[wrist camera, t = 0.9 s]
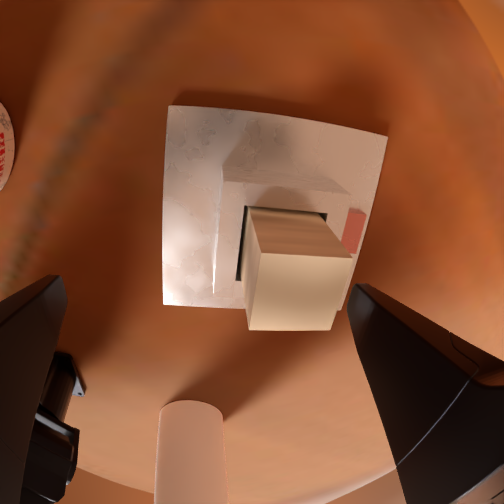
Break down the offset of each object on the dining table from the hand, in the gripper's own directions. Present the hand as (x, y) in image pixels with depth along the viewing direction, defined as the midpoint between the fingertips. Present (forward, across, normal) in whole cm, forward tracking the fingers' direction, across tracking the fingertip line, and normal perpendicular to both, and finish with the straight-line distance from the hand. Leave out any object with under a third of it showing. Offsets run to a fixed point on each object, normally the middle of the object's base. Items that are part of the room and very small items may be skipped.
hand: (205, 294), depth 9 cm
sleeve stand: (+12, -4, +2) cm, 13 cm away
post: (+11, -4, +2) cm, 12 cm away
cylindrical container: (+13, +2, +26) cm, 29 cm away
